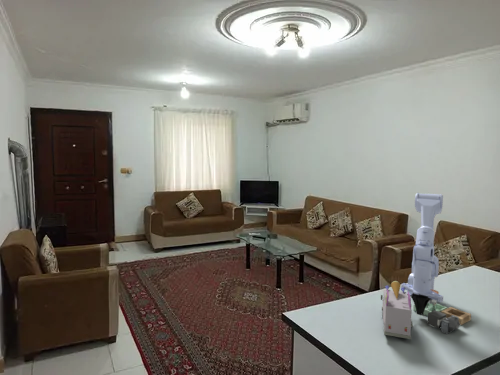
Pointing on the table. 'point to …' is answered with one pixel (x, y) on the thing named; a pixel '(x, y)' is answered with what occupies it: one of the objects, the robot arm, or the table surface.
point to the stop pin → (432, 303)
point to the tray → (438, 308)
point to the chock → (435, 318)
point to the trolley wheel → (449, 324)
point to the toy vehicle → (396, 312)
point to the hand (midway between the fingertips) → (420, 314)
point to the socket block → (457, 314)
